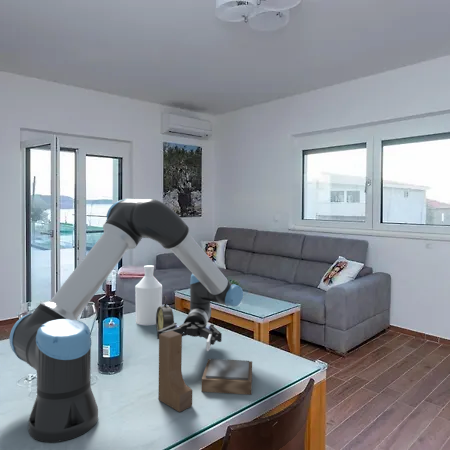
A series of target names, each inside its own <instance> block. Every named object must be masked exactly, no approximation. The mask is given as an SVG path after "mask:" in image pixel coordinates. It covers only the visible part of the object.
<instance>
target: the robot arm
mask: <svg viewBox="0 0 450 450" xmlns="http://www.w3.org/2000/svg"><path fill="white" fill-rule="evenodd" d="M102 228H103V234H102V235H101V236H100V237H99V238H98V240H97V241H96V242H95V244H94V245H93V246H92V247H91V249H90V250H89V251H88V252H87V254H86V255H85V256H84V257H83V259H82V260H81V261H80V262H79V264H78V265H77V266H76V267H75V269H74V270H73V271H72V273H70V275H69V276H68V278H66V280H65V281H64V282H63V283H62V285H61V286H60V287H59V289H58V290H57V291H56V293H55V294H54V295H53V297H52V298H51V299H50V300H48V301H43V302H40V303H39V304H38V305H37V307H36V308H35V309H34V311H33V312H30V313H28V314H25V315H23V316H22V317H20V318H19V319H18V320H17V321H16V322H15V323H14V325H13V326H12V328H11V331H10V334H9V346H10V348H11V351H12V352H13V353H14V354H15V356H16V358H17V359H19V360H21V361H23V362H25V363H26V364H28V365H29V366H30V367H31V368H33V369H34V370H36V397H35V400H34V403H33V406H32V410H31V412H30V415H29V418H28V434H29V435H30V437H31V438H33V439H34V440H36V441H40V442H45V443H58V442H63V441H69V440H72V439H75V438H78V437H80V436H82V435H84V434H85V433H87V432H89V431H90V430H91V429H93V427H94V426H95V425H96V424H97V422H98V420H99V408H98V404H97V401H96V398H95V396H94V392H93V390H92V387H91V385H92V384H91V373H92V372H91V370H92V367H91V365H92V364H91V360H92V359H91V358H92V357H91V356H92V355H91V354H92V352H91V351H92V350H91V349H92V337H91V330H90V328H89V325H87V324H86V323H85V322H83V321H80V320H78V318H79V317H80V315H81V314H82V312H83V311H84V310H85V308H86V307H87V306H88V304H89V303H90V301H91V300H92V299H93V297H94V296H95V294H96V293H97V292H98V290H99V289H100V288H101V287H102V286H103V284H104V283H105V281H106V280H107V279H108V277H109V276H110V274H111V273H112V272H113V270H114V269H115V267H116V266H117V265H118V264H119V262H120V261H121V259H122V258H123V257H124V255H125V254H126V253H127V251H128V250H134V249H136V248H137V246H138V244H139V243H140V242H141V241H142V239H150V240H153V241H155V242H156V243H159V244H160V245H161V246H162V248H163V249H165V250H170V251H171V252H172V253H173V254H174V255H175V256H176V257H177V259H179V261H181V263H182V264H183V265H184V267H186V268H187V270H189V271H190V273H191V275H190V283H189V286H190V287H189V293H190V294H189V299H190V300H189V312H188V315H186V317H185V319H184V321H183V323H182V324H180V325H178V323H177V322H174V323H173V324H172V325H170V326H168V327H165V328H163V329H160V330H158V331H157V330H156V331H157V333H156V334H157V335H156V337H157V340H159V334H162V333H165V332H169V331H174V332H177V333H179V334H182V337H185V336H190V337H193V338H194V337H195V338H196V337H200V338H204V339H205V340H206V343H205V345H206V351H207V352H209V351H210V348H211V346H213V345H215V343H216V341H217V342H218V343H221V342H222V340H223V339H222V336H223V335H222V333H221V331H220V330H218V329H217V328H216V327H215V324H210V325H208V323H209V321H210V319H211V316H212V307H211V302H212V303H215V304H219V305H223V306H226V307H234V308H235V307H238V306H239V305H240V304H241V303H242V301H243V297H244V291H243V288H242V287H241V286H240V285H238V284H235V283H232V282H230V280H229V279H227V277H226V276H225V275H224V274H223V272H222V271H221V270H220V268H219V267H218V265H216V263H214V261H213V260H212V259H211V258H210V257H209V255H208V254H207V252H205V250H203V249H204V248H202V247H201V246H200V244H199V243H197V241H196V240H195V238H194V237H193V236H192V235H191V234H190V228H189V226H188V225H187V224H186V222H185V221H184V220H183V218H181V217H180V216H179V215H178V213H177V212H176V211H175V210H173V209H172V208H171V207H170V206H168V205H167V204H166V203H164V202H162V201H160V200H158V199H154V198H135V199H134V198H124V199H120V200H117V201H116V202H114V203H113V204H112V205H111V206H110V207H109V208H108V210H107V213H106V220H105V222H104V224H103V225H102ZM207 325H208V326H207Z"/></svg>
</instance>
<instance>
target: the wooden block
mask: <svg viewBox="0 0 450 450" xmlns="http://www.w3.org/2000/svg"><path fill="white" fill-rule="evenodd" d="M182 343H183V336H182V334H179V333H177V332H174V331H169V332H165V333H162V334H159V339H158V398H157V399H158V401H160V402H161V403H163V404H165V405H167V406H168V407H170V408H171V409H173V410H175V411H176V412H179V413H182V412H183V411H185V410H188V409H189V408H191V407H193V389H192V388H191V387H190V386H189V385H187V384H186V382H185V380H184V378H183V372H182V366H183V365H182V360H183V359H182V357H183V356H182V355H183V354H182V353H183V350H182V349H183V348H182V347H183V345H182Z"/></svg>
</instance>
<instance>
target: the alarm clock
mask: <svg viewBox="0 0 450 450" xmlns="http://www.w3.org/2000/svg"><path fill="white" fill-rule="evenodd" d="M165 300H166V301H165ZM163 302H164V303H163V306H160V307H158V309H157V313H156V324H155V327H156V331H158V330H160V329H163V328H165V327H168V326H170V325H172V324H173V323H175V320H174V319H175V318H174V317H175V316H174V312H173V309H172V308H171V307H170V306H169V305H167V303H168V298H167V296H166V295H164V296H163Z"/></svg>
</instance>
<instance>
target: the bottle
mask: <svg viewBox="0 0 450 450" xmlns="http://www.w3.org/2000/svg"><path fill="white" fill-rule="evenodd" d="M143 269H144V276H143V277H142V278H141V280H139V282H138V283H137V284H136V285H135V287H134V290H135V293H134V294H135V296H134V298H135V324H137V325H140V326H154V325H155V326H156V313H157V309H158V307H160V306H162V304H163V285H162V283H161V282H159V280H158V279H157V278H156V277H155V276H154V271H155V265H150V264H149V265H144V266H143Z"/></svg>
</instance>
